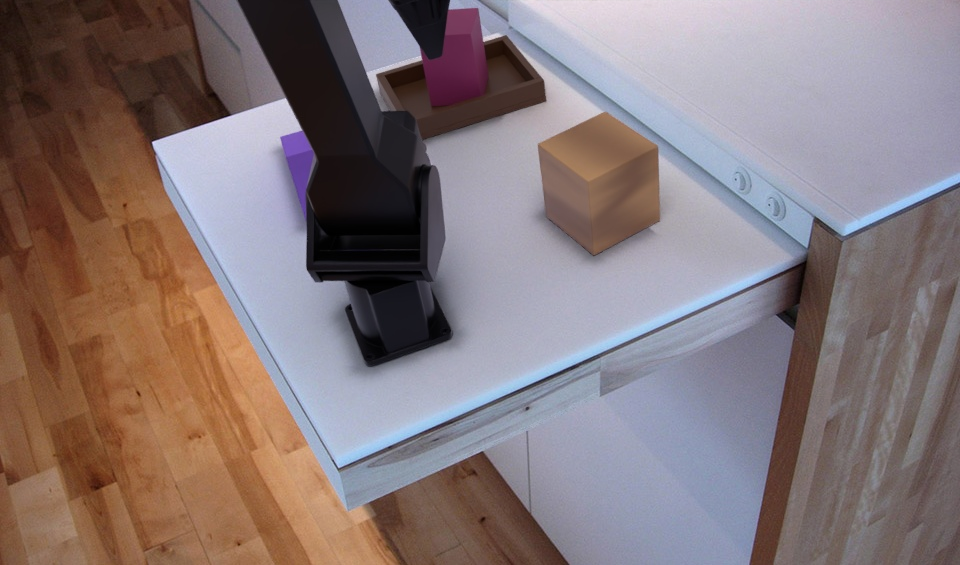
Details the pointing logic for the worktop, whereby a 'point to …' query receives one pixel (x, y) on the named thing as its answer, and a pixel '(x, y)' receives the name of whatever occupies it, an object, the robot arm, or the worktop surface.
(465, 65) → the mulberry block
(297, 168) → the purple block
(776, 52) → the worktop surface
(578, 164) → the oak block
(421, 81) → the tray
